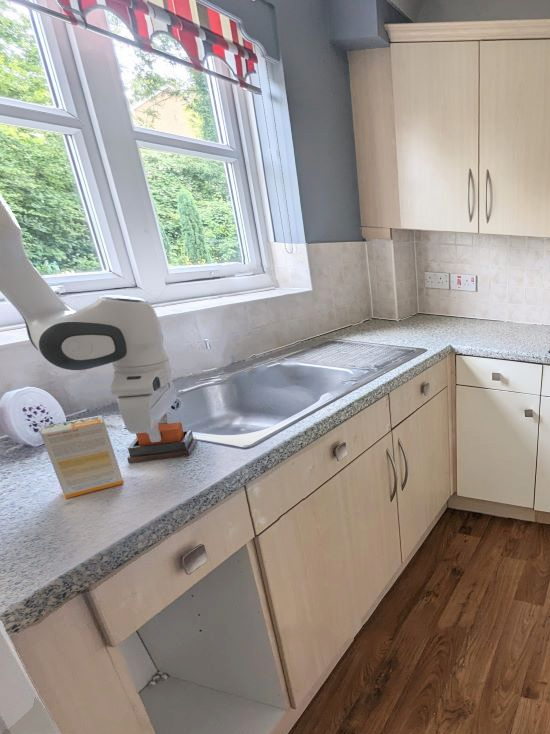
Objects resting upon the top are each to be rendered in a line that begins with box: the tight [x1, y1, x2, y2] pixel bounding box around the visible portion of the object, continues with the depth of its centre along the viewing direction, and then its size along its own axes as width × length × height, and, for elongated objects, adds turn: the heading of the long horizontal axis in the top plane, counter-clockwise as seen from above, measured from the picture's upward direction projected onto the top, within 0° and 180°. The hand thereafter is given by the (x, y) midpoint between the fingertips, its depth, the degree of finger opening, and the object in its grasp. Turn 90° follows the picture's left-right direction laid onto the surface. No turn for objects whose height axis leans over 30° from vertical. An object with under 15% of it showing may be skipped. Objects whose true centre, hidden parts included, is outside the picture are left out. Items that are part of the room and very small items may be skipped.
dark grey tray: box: [127, 429, 198, 464], centre depth 99 cm, size 10×8×3 cm
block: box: [135, 422, 184, 446], centre depth 98 cm, size 7×4×4 cm, turn 114°
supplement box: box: [40, 414, 124, 499], centre depth 83 cm, size 8×5×13 cm, turn 134°
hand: (160, 435), depth 98 cm, fingers closed on block, 4 cm apart
